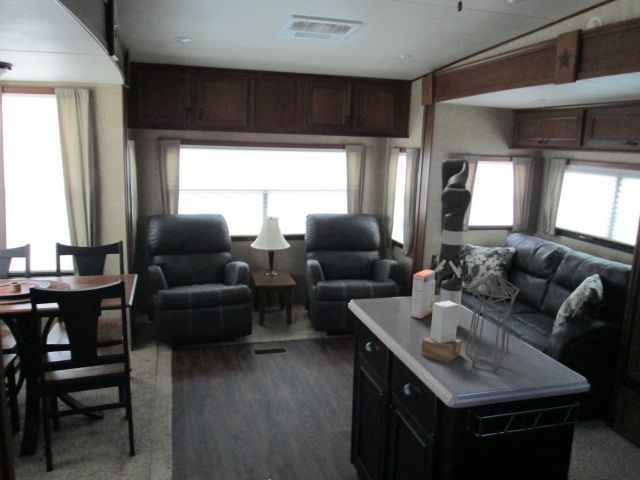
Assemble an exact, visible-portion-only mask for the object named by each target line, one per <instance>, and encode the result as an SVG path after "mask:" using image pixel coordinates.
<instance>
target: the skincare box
mask: <svg viewBox="0 0 640 480" xmlns="http://www.w3.org/2000/svg"><path fill="white" fill-rule="evenodd" d="M458 310H459V305H458V304H456V303H454V302H451V301H449V300H448V301H443V302H439V301H438V302H434V303H433V312H432V313H431V315H432V316H431V317H432V318H431V326H430V335H429V336H430V338H431V339H432V340H434V341H436V342H437V343H439V344H441V343H446V342H450V341H455V340H456V339H457V338H456V337H457V328H458V327H457V320H458Z"/></svg>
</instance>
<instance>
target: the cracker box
mask: <svg viewBox="0 0 640 480" xmlns="http://www.w3.org/2000/svg"><path fill="white" fill-rule="evenodd" d="M412 277H413V278H412V290H411V291H412V292H411V306H410V317H412V318H415V319H421V320H422V319H423V318H426V317H427V316H428V315H432V314H433V303H435V294H436V293H435V292H436V291H435V290H436V282H435V279H434V278H435V272H434V271H433V270H431V269H427V268H426V269H424V270H421V271H418V272H416V273H414V274H413V275H412Z"/></svg>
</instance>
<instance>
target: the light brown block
mask: <svg viewBox="0 0 640 480" xmlns="http://www.w3.org/2000/svg"><path fill="white" fill-rule="evenodd" d="M430 336H431V335H428V336H427V337H425V338H423V339H422V341H421V351H420V354H421V356H425V357H428V358H431V359H434V360H437V361H440V362H443V363H446V364H448V363H450V362H451V361H453V360H454V359H456V358H457V357H459V356H461V349H462V340H461V339H459V338H458V339H457V338H456V340H455V341H450V342H446V343H441V344H439V343H437V342H436V341H434V340H432V339H431V338H430Z"/></svg>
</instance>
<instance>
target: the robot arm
mask: <svg viewBox="0 0 640 480" xmlns="http://www.w3.org/2000/svg"><path fill="white" fill-rule="evenodd" d="M469 173H470V164H469V161H468V160H467V159H465V158H445V159H443V160H442V163H441V195H440V202H441V213H440V214H441V216H440V217H441V220H440V222H441V223H440V224H441V231H440V232H441V236H440V237H441V238H440V249H439V254H432V255H431V263H430V268H429V270H432V271H434V272H435V278H434V279H435V283H439V282H440V280H441V272H442V273H445V274H450V275H453V278H450V279H445V280H442V281H441V283H440V288H439V289H440V291H439V301H438V302H443V301H448V300H449V301H451V302H454V303H456V304H458V305H459V310H458V320H457V328H459V321H460V311H461V310H460V309H461V302H462V301H461V300H462V291H463V283H464V278H465V277H467V276H468V275H469V262H470V261H469V260H468V259H466V256H465V255H463V254H462V247H463V240H464V239H463V237H464V236H463V231H464V230H463V229H464V222H465V216H466V213H467V210H468V209H469V206H470V203H471V202H472V201H471V200H472V195H471V192H470V191H469V190H468V189H466V187H467V186H466V184H467V182H468V179H469ZM438 262H439V263H438ZM437 264H438V265H437Z"/></svg>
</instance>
